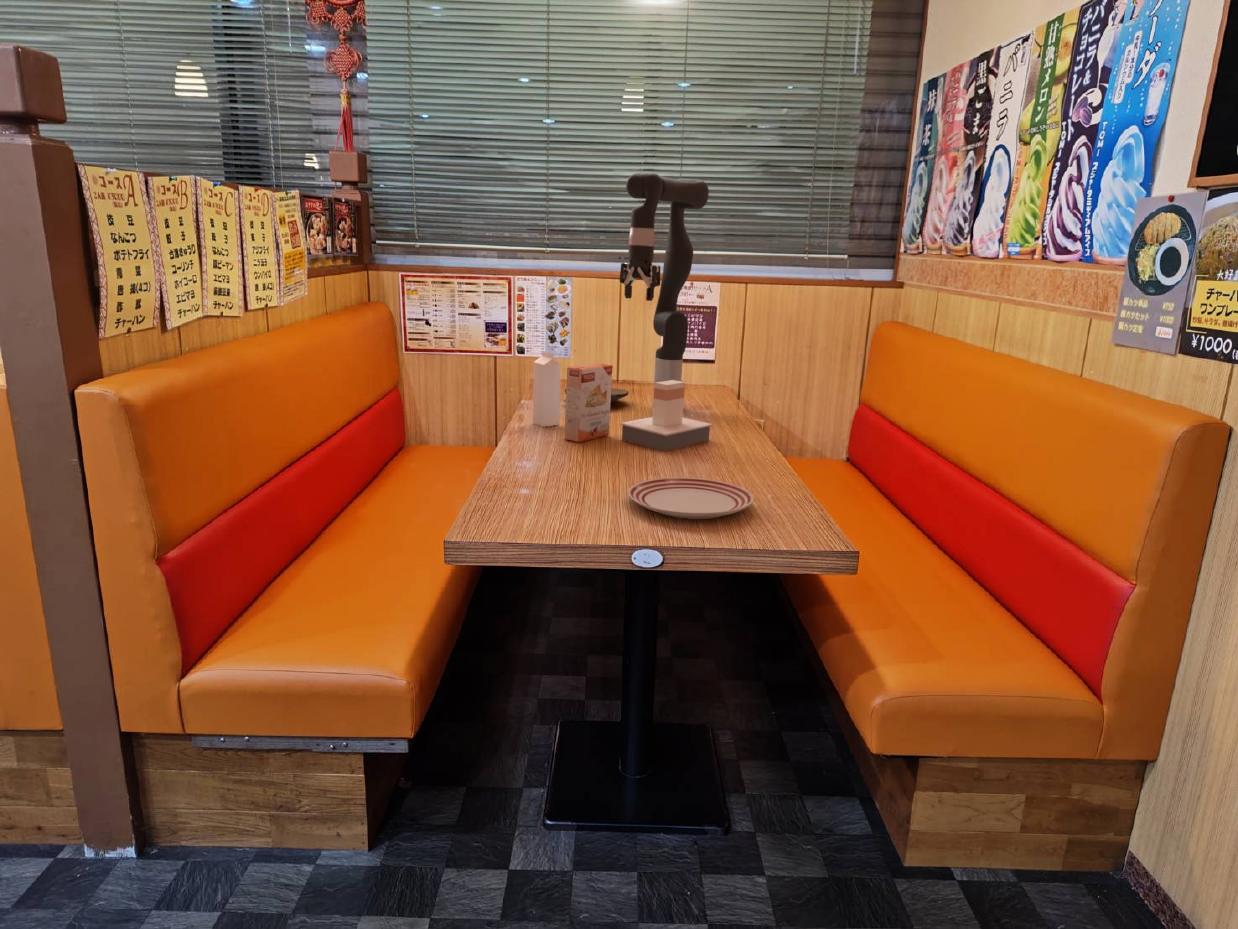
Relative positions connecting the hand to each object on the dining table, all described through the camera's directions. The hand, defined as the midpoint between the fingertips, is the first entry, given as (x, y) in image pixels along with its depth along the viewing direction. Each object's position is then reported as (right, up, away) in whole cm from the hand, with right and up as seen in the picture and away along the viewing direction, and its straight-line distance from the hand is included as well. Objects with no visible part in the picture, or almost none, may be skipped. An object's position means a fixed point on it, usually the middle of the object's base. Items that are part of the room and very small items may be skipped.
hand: (638, 299), depth 248 cm
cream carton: (+8, -38, -13) cm, 41 cm away
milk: (-28, -38, +2) cm, 47 cm away
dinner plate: (+9, -59, -68) cm, 91 cm away
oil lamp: (-14, -28, +40) cm, 51 cm away
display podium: (+7, -43, -11) cm, 45 cm away
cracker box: (-15, -42, -12) cm, 47 cm away
